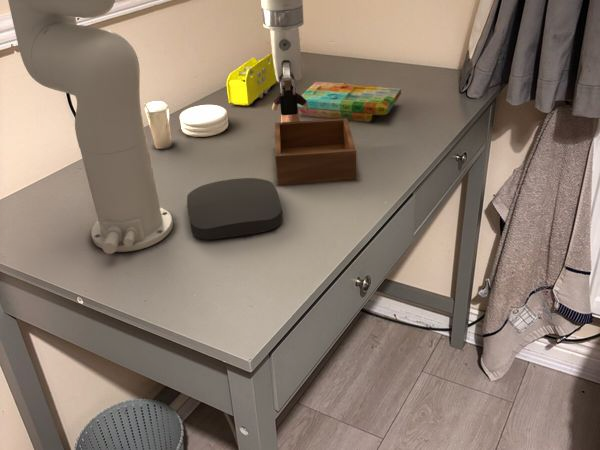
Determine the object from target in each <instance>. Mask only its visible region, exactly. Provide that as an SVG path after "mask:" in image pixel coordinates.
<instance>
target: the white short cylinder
mask: <svg viewBox="0 0 600 450" xmlns="http://www.w3.org/2000/svg"><path fill="white" fill-rule="evenodd" d="M228 120H229V117H228V111H227V109H226V108H224V107H223V106H220V105H217V104H202V105H196V106H191V107H189V108H187V109H184V110H183V111H182V112H181V113H180V114H179V121H180V128H181V131H182V133H183V134H185V135H186V136H189V137H194V138H204V137H205V138H206V137H213V136H217V135H219V134H221V133H223V132H224V131H226V129H228V127H229V121H228Z"/></svg>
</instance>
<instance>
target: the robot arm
mask: <svg viewBox="0 0 600 450" xmlns="http://www.w3.org/2000/svg"><path fill="white" fill-rule="evenodd" d="M7 2H8V7H9V11H10V16H11V20H12V24H13V28H14V33H15V37H16V42H17V45H18V50H19V54H20V57H21V60H22V63H23V65H24V68H25V69H26V71H27V74H28V75H29V76H30V77H31V78H32V79H33V80H34V81H35V82H36V83H38V84H39V85H41V86H43V87H45V88H48V89H51V90H53V91H58V92H62V93H66V94H68V95H71V96H74V97H75V99H76V110H75V117H74V131H75V136H76V140H77V143H78V148H79V150H80V154H81V158H82V163H83V165H84V169H85V174H86V177H87V181H88V184H89V189H90V194H91V198H92V200H93V204H94V208H95V212H96V216H97V221H96V222H94V224H93V225H92V227H91V230H90V236H91V239H92V243H94V244H95V246H96V247H98V248H100V249H102V251H103V253H104V254H108V255H112V254H115V253H116V252H117V253H126V252H134V251H140V250H142V249H146V248H149V247H151V246H153V245H156V244H157V243H160V242H161V241H162V240H164V239H165V238H166V237H167V236H169V234H170V233H171V231H172V229H173V226H174V221H173V216H172V214H171V213H170V212H169V211H168V210H167V209H165V208H163V207H161V205H160V202H159V201H160V200H159V196H158V191H157V185H156V181H155V180H156V179H155V175H154V170H153V165H152V160H151V154H150V151H149V150H150V149H149V145H148V140H147V134H146V130H145V125H144V121H143V114H142V107H141V106H142V105H141V97H140V93H141V91H140V83H141V82H140V77H141V75H140V74H141V72H140V71H141V70H140V63H139V57H138V55H137V53H136V51H135V49H134V48H133V46H132V44H131V43H130V42H128V40H127V39H125V38H124V37H123V36H121V35H120V34H118V33H116V32H114V31H111V30H109V29H105V28H100V27H95V26H90V25H83V24H77V18H79V19H80V18H81V19H93V18H94V19H95V18H98V17H103V16H105V15H106V14H108V13H109V12H110V11H111V10H112V8H113V7H114V5H115V3H116V0H7ZM303 3H304V0H260V6H261V17H262V26H263V28H265V29H267V30H269V33H270V44H271V54H272V55H273V63H274V69H275V75H276V80H277V82H278V84H279V94H280V93H281V94H280V104H279V106H280V116H281V115H295V114H298V110H299V109H298V106H297V94H298V92H297V90H296V89H297V86H296V87H295V80H296V81H298V82H301V81H302V80H303V74H302V53H301V39H300V30H299V27H302V26H303V25H304V23H305V21H304V4H303ZM282 77H284V78H282ZM290 77H292V78H290ZM294 78H295V79H294ZM291 83H292V84H291ZM283 90H284V91H283ZM292 90H293V91H292Z"/></svg>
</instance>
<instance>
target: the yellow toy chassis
mask: <svg viewBox="0 0 600 450" xmlns="http://www.w3.org/2000/svg"><path fill="white" fill-rule="evenodd" d="M225 82H226V90H227V91H226V92H227V99H228V104H233V105H238V106H251V105H252V104H253V103H254V101H255V100H257V99H258V98H259V99H263V97H264V94H266V95H267V94H268V91H269V90H270V89H271V87H273V85H275V84H276V83H277V82H278V81H277V80H276V75H275V69H274V63H273V55H272V52H271V53H269V54H267V55H266V56H264V57H263V58H261V59H258V60H257V59H256V58H255V57H251V58H250V59H249V60H247V61H246V62H244V63H243V64H241V65H240V66H239V67H237V68H236V69H235V70H233V71H232V72H230V73H229V74H228V77H227V80H226V81H225Z"/></svg>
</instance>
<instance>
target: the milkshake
mask: <svg viewBox="0 0 600 450" xmlns="http://www.w3.org/2000/svg"><path fill="white" fill-rule="evenodd" d="M143 104H144V105H143V106H144V112H145V116H146V118H147V123H148V125H149V129H150V133H151V136H152V140H153V143H154V147H155V148H156V149H157V150H166V149H168V148H170V147H172V136H171V127H170V126H171V125H170V110H169V105H168V104H167V103H166V102H165V101H161V100H158V101H156V100H153V101H151V102H147V104H146V103H143Z"/></svg>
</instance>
